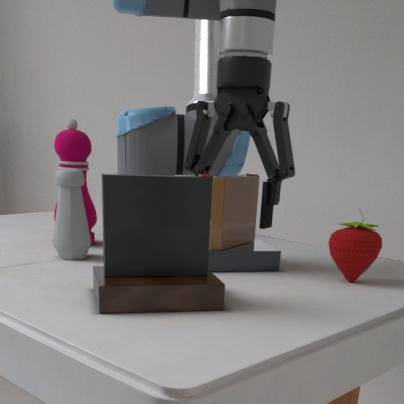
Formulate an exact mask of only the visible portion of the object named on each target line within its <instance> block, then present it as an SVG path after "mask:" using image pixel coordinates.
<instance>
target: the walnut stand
mask: <svg viewBox="0 0 404 404" xmlns="http://www.w3.org/2000/svg"><path fill="white" fill-rule="evenodd" d="M92 278H93V279H92V281H93V282H92V283H93V293H94V296H95V301H96V305H97V309H98V313H99V314H121V313H122V314H125V313H157V312H158V313H161V312H163V313H164V312H192V311H193V312H194V311H195V312H196V311H224V309H225V295H226V294H225V293H226V284H225V283H224V282H223V281H222V280H221V279H220V278H218V276H217V275H215V274H214V272H211V271H210V270H209V269H208V275H207V276H129V277H105V275H104V265H93V266H92Z"/></svg>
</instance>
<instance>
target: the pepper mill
mask: <svg viewBox="0 0 404 404" xmlns="http://www.w3.org/2000/svg"><path fill="white" fill-rule="evenodd" d="M78 126H79V124H78V121H77V120H76V119H74V118H70V119H68V120H67V121H66V127H67V129H63V130H61V131H59V132H58V133H57V134H56V136H55V137H54V142H53V149H54V152H55V154H56V155H57V156H58V157H59V160H58V161H57V164H58V167H57V168H58V169H57V170H59V169H64V168H70V169H79V170H81V171H82V172H83V173H84V185H83V186H81V191H82V197H83V202H84V207H85V212H86V217H87V223H88V228H89V233H90V238H91V246H92V245H94V244H95V243H96V237H95V232H93V231H92V229H94V227H95V225H96V224H97V222H98V215H97V210H96V206H95V205H94V201H93V200H92V197H91V195H90V191H89V189H88V188H89V187H88V181H87V175H88V173H87V172H88V171H89V170H90V168H89V164H90V162H89V161H87V160H88V158H89V157H90V155H91V153H92V149H93V148H92V141H91V139H90V137H89V136H88V135H87V134H86V132H83V131H82V130H80V129H78ZM57 204H58V200H57V201H56V204H55V207H54V211H53V220H54V222H55V220H56V212H57Z"/></svg>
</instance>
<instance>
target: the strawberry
mask: <svg viewBox="0 0 404 404" xmlns="http://www.w3.org/2000/svg"><path fill="white" fill-rule="evenodd" d="M359 212H360V214H361V216H362V218H363V219H362V220H361V222H360V221H353V222H342V223H340V222H339V224H338V225H341V226H345V227H342V228H339V229H336V230H335V231H334V232H332V233H331V234H330V237H329V239H328V243H327V244H328V250H329V254H330V257H331V258H332V261H333V262H334V264H335V265H336V267H337V269H338V270H339V271H340V273H341V274H342V276H343V278H344V279H345V280H346V281H347V282H349V283H353V282H355V281H357V280H358V279H359V277H361V276H362V274H364V273H365V272H366V271H367V270H368V269H369V268H370V267H371V265H373V264H374V262H375V261H376V260H377V259H378V257H379V254H380V253H381V250H382V248H383V238H382V236H381V235H380V233H379V232H378V231H377V230H376V229H374V228H378V227H380V225H377V224H371V223H363V222H364V220H365V216H364V214H363V212H362V210H361V208H359Z"/></svg>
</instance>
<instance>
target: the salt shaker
mask: <svg viewBox="0 0 404 404" xmlns="http://www.w3.org/2000/svg"><path fill="white" fill-rule="evenodd" d="M54 182H55V185H57V186H59V187H58V188H59V189H58V197H57V198H58V199H57V201H58V204H57V203H56V204H57V212H56V220H55V221H54V229H53V238H52V244H53V245H52V246H53V247H54V249H55V251H56V252H57V254H58V256H59V258H60V259H61V260H70V261H71V260H72V261H73V260H84V259H85V258H86V257H87V255H88V252H89V250H90V248H91V246H92V245H91V238H90V233H89V228H88V223H87V217H86V212H85V207H84V202H83V197H82V191H81V186H83V185H84V173H83V172H82V171H81V170H79V169H70V168H64V169H57V170H56V171H55V172H54Z"/></svg>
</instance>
